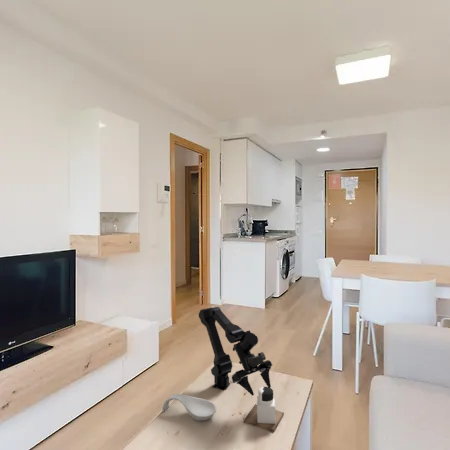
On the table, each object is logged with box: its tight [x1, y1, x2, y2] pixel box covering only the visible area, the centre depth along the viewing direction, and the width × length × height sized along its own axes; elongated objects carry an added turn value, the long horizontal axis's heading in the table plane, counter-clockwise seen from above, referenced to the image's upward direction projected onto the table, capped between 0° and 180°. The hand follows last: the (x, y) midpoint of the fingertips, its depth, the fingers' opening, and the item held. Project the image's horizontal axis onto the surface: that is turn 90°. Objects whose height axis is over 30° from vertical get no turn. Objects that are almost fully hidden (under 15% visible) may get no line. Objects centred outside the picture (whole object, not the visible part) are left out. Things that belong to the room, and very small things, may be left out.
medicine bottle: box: [256, 386, 276, 424], centre depth 130 cm, size 7×7×12 cm
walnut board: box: [243, 403, 285, 433], centre depth 131 cm, size 13×12×1 cm
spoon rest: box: [161, 393, 217, 422], centre depth 135 cm, size 24×12×7 cm, turn 74°
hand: (261, 391), depth 132 cm, fingers open, 9 cm apart
